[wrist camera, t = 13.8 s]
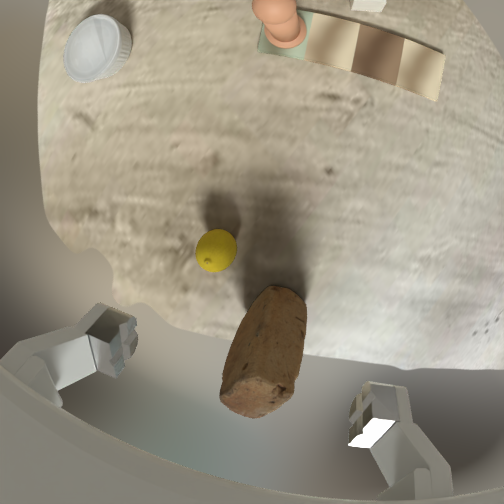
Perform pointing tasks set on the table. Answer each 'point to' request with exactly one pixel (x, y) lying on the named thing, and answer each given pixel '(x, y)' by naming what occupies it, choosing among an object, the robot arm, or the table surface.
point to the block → (265, 354)
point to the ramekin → (96, 48)
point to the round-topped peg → (280, 22)
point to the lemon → (216, 250)
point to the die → (367, 5)
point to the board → (365, 53)
